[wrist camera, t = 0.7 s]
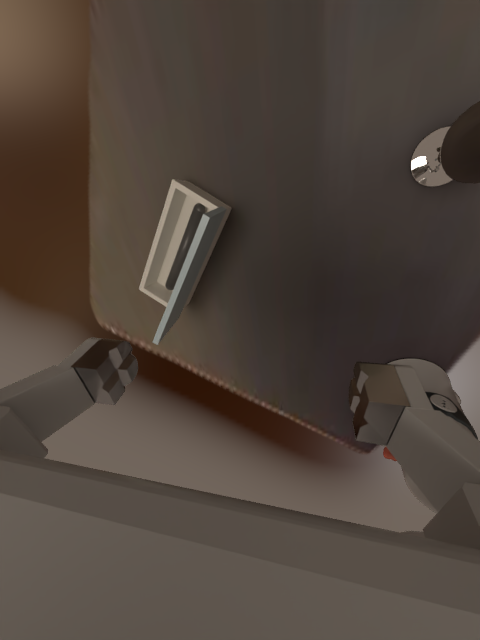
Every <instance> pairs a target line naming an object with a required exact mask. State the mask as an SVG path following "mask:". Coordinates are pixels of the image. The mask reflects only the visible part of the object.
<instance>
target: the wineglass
mask: <svg viewBox="0 0 480 640" xmlns="http://www.w3.org/2000/svg"><path fill="white" fill-rule="evenodd" d="M410 170H411V174H412V176H413V178H414V179H415V181H417V182H418V183H419V184H421V185H423V186H427V187H436V186H441V185H444V184H446V183H448V182H450V181H452V180H455V181H457V182H462V183H473V184H476V183H480V101H479V102H477V103H476V104H474V105H472V106H471V107H470V108H469V109H468V110H466V111H465V112H464V113H463V114H462V115H460V116H459V117H458V119H457V120H456V121H455V122H454V123H453V124H452V126H447V127H442V128H439V129H437V130H435V131H433V132H431V133H430V134H428V135H427V136H426V137H425V138H423V140H422V141H421V142H420V143H419V144H418V146H417V147H416V148H415V150H414V152H413V155H412V158H411V162H410Z"/></svg>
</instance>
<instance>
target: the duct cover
mask: <svg viewBox="0 0 480 640" xmlns="http://www.w3.org/2000/svg"><path fill="white" fill-rule="evenodd" d="M226 210H227V209H225V208H224V207H222V206H221V207H219V208H216V209H214V210H212V211H209V212H207V213H204V214H203V216H202V218H201V221H200V223H199V226H198V229H197V231H196V234H195V236H194V239H193V241H192V244H191V246H190V249H189V251H188V254H187V256H186V259H185V261H184V264H183V267H182V269H181V272H180V274H179V277H178V279H177V282H176V284H175V287H174V289H173V292H172V294H171V297H170V300H169V302H168V305H167V307H166V310H165V312H164V315H163V317H162V320H161V322H160V325H159V327H158V330H157V332H156V335H155V338H154V340H153V343H155V344H157V345H158V344H159V342H160V341H161V340H162V339H163V337H164V336H165V335H166V333H167V332H168V331H169V330H170V328H171V327H172V326H173V325H174V323H175V322H176V321H177V320H178V318H179V317H180V314H181V312H182V310H183V308H184V305H185V303H186V301H187V298H188V296H189V294H190V292H191V289H192V287H193V285H194V283H195V280H196V278H197V276H198V273H199V271H200V269H201V267H202V264H203V262H204V260H205V257H206V255H207V253H208V251H209V248H210V246H211V244H212V242H213V239H214V237H215V235H216V232H217V230H218V228H219V226H220V223H221V221H222V219H223V217H224V214H225V212H226Z"/></svg>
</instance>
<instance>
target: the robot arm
mask: <svg viewBox="0 0 480 640" xmlns="http://www.w3.org/2000/svg"><path fill="white" fill-rule="evenodd" d="M131 351H132V347H131V345H130V343H129V342H126V341H120V340H111V339H100V338H89V339H87V340H86V341H85V342H84V343H82V344H81V345H80V346H79V347H78V348H77V349H76V350H75V351H73V352H72V353H71V354H70V355H69V356H68V357H67V358H66V359H65V360H63V361H62V362H61V363H60V364H59V365H58V366H52V367H49V368H47V369H45V370H43V371H40V372H38V373H36V374H33V375H31V376H29V377H27V378H24V379H22V380H20V381H18V382H15V383H13V384H11V385H9V386H7V387H4V388H2V389H0V640H480V441H479V440H478V438H477V435H476V433H475V430H474V428H473V427H472V426H471V424H470V422H469V421H468V419H467V418H466V416H465V415H464V413H463V411H462V409H461V406H460V404H461V400H460V398H459V396H458V395H457V394H456V392H454V390H453V389H452V387H451V383H450V379H449V377H448V375H447V374H446V372H445V371H444V370H443V369H441V368H440V367H439V366H437V365H436V364H434V363H431V362H429V361H425V360H421V359H400V360H396V361H393V362H390V363H388V364H382V363H369V362H356V364H355V366H354V370H353V371H354V376H355V378H353V379H352V380H351V381H350V386H349V405H350V409H351V410H352V411H353V412H354V413H355V414H354V417H353V421H352V422H353V427H354V433H355V438H356V441H361V442H367V443H372V444H378V445H382V446H384V447H385V448H384V452H383V455H384V457H385V458H387V459H392V460H394V461H398V463H399V464H400V465H401V467H402V471H403V475H404V478H405V482H406V484H407V486H408V488H409V489H410V491H411V492H412V493H413V495H414V496H415V497H416V498H417V499H418V500H419V501H420V502H422V503H423V504H424V505H425V506H426V507H428V508H429V509H430V510H432V511H433V512H435V513H436V515H435V516H434V517H433V519H432V520H431V521H430V522H429V523H428V524H427V525H426V526H425V527H424V529H423V532H419V531H406V532H401V533H399V532H394V531H389V530H384V529H380V528H375V527H370V526H365V525H360V524H356V523H351V522H346V521H342V520H337V519H332V518H327V517H322V516H318V515H313V514H308V513H303V512H299V511H294V510H289V509H284V508H279V507H275V506H270V505H265V504H260V503H256V502H251V501H246V500H241V499H236V498H231V497H226V496H222V495H217V494H213V493H208V492H203V491H198V490H193V489H189V488H183V487H179V486H174V485H169V484H164V483H160V482H155V481H150V480H145V479H141V478H136V477H131V476H126V475H121V474H117V473H112V472H107V471H102V470H97V469H93V468H88V467H83V466H78V465H73V464H69V463H64V462H59V461H54V460H49V459H45V458H44V457H45V456H46V455H47V454H48V449H47V448H46V447H45V446H44V445H43V444H42V441H43V440H45V439H46V438H47V437H49V436H50V435H52V434H53V433H54V432H56V431H57V430H59V429H60V428H61V427H63V426H64V425H66V424H67V423H68V422H70V421H71V420H73V419H74V418H75V417H77V416H78V415H80V414H81V413H83V412H84V411H85V410H87V409H88V408H90V407H91V406H92V405H94V404H95V403H101V404H109V405H115V404H116V403H117V401H118V400H119V399H120V397H121V396H122V395H123V393H124V392H125V386H126V385H127V384H129V383H131V382H132V381H133V379H134V378H135V376H136V374H137V370H138V364H137V360H136V358H135V357H134V356H133V355H132V354H131Z"/></svg>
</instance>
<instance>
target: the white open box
mask: <svg viewBox="0 0 480 640" xmlns="http://www.w3.org/2000/svg"><path fill="white" fill-rule="evenodd" d="M221 206H222V207H224V208H225V209H227V210H226V212H225V214H224V217H223V219H222V221H221V223H220V226H219V228H218V230H217V232H216V235H215V237H214V239H213V242H212V244H211V246H210V248H209V251H208V253H207V255H206V257H205V260H204V262H203V264H202V267H201V269H200V271H199V273H198V276H197V278H196V280H195V283H194V285H193V287H192V289H191V292H190V294H189V296H188V298H187V301H186V303H185V305H184V307H185V306H186V305H188V304H189V303H190V300H191V298H192V296H193V294H194V291H195V289H196V287H197V285H198V283H199V280H200V278H201V276H202V274H203V271H204V269H205V267H206V265H207V262H208V260H209V258H210V256H211V254H212V251H213V249H214V247H215V245H216V242H217V240H218V238H219V236H220V234H221V231H222V229H223V227H224V225H225V222H226V220H227V218H228V216H229V214H230V211H231V209H232V208H231V207H230V206H228V205H226V204H225V203H223V202H222V201H220V200H218V199H217V198H215V197H213V196H212V195H210V194H209V193H207V192H205V191H204V190H202V189H200V188H199V187H197V186H196V185H194V184H192V183H191V182H189V181H183V180H175V179H172V183H171V186H170V189H169V192H168V196H167V199H166V202H165V205H164V209H163V212H162V215H161V218H160V222H159V225H158V228H157V231H156V235H155V238H154V241H153V244H152V248H151V251H150V254H149V257H148V261H147V264H146V267H145V270H144V274H143V277H142V280H141V283H140V287H139V290H141V291H142V292H144V293H145V294H147V295H149V296H150V297H152V298H153V299H155V300H156V301H158V302H160V303H161V304H163V305H164V306H166V307H167V305H168V302H169V300H170V297H171V294H172V292H173V289H174V287H175V284H176V282H177V279H178V277H179V274H180V272H181V269H182V267H183V264H184V261H185V259H186V256H187V254H188V251H189V249H190V246H191V244H192V241H193V239H194V236H195V234H196V231H197V229H198V226H199V223H200V221H201V218H202V216H203V214H204V213H207V212H209V211H212V210H214V209H216V208H219V207H221Z"/></svg>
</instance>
